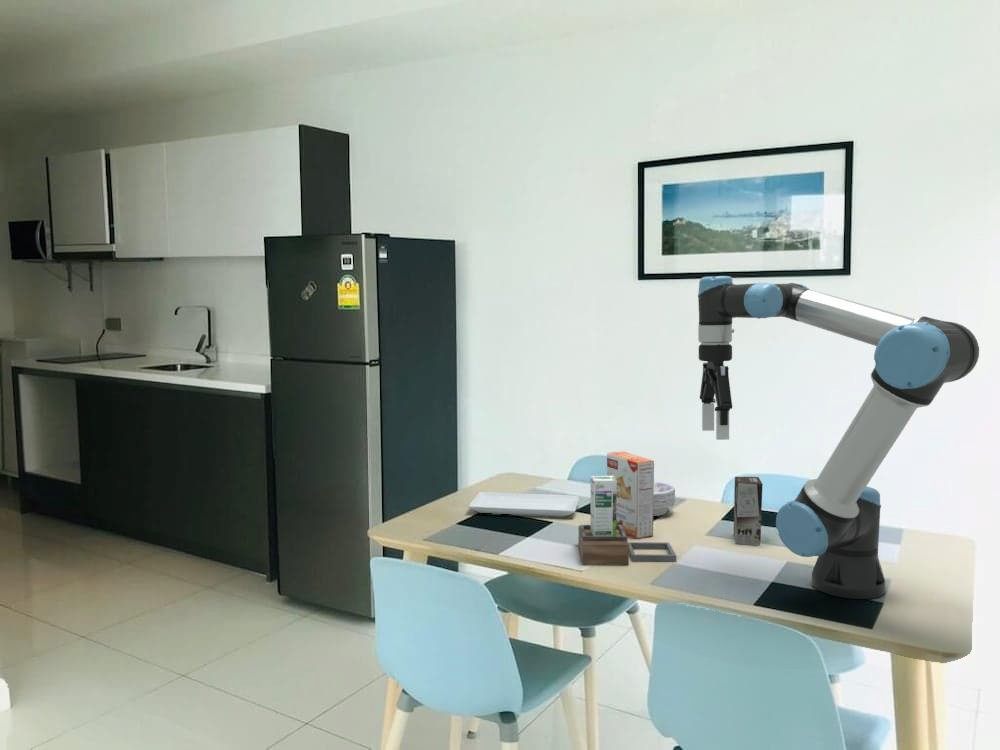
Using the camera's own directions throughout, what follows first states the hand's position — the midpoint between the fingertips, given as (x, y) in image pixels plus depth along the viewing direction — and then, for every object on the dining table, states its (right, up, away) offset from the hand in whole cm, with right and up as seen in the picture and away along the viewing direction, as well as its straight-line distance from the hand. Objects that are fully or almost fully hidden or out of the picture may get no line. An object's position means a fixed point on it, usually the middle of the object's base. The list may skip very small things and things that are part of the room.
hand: (715, 434), depth 195 cm
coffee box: (+15, -30, +25) cm, 42 cm away
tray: (-43, -27, +55) cm, 75 cm away
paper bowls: (-6, -27, +52) cm, 59 cm away
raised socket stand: (-25, -31, +14) cm, 42 cm away
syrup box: (-24, -26, +13) cm, 38 cm away
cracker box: (-15, -29, +33) cm, 46 cm away
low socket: (-13, -31, +13) cm, 36 cm away
